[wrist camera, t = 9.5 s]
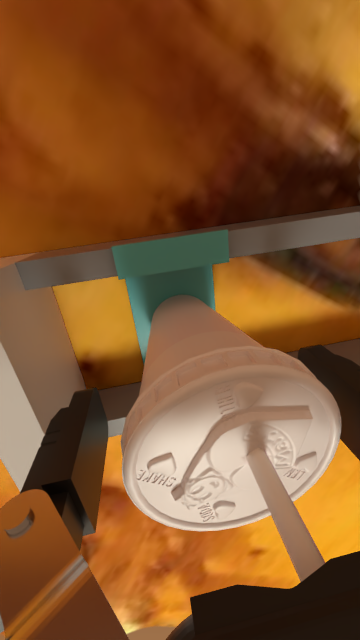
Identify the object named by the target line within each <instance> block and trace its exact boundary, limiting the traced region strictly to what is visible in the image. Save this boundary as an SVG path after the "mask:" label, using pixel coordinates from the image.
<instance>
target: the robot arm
mask: <svg viewBox="0 0 360 640" xmlns="http://www.w3.org/2000/svg"><path fill="white" fill-rule="evenodd" d="M298 360H300V361H301V362H302V363H303V364H304V365H305V366H306V367H307V368H308V369H309V370H310V371H311V372H312V373H313V374H314V375H315V376H316V378H317V379H318V380H319V381H320V382H321V383H322V384H323V385H324V386H325V387H326V388H327V389H328V390H329V391H330V393H331V394H332V395H333V397H334V399H335V401H336V402H337V405H338V408H339V411H340V416H341V434H340V439H341V440H342V441H343V442H344V444H345V445H346V446H347V447H348V448H349V449H350V450H351V451H352V452H353V454H354V455H355V456H356V457H357V458H358V459H359V460H360V366H359V365H357V364H356V363H355V362H353V361H352V360H349V359H347V358H344V357H342V356H339V355H337V354H336V355H335V354H333V353H332V352H331V351H329V350H328V349H327V348H325V347H324V346H322V345H315V346H310V347H305V348H301V349H300V350H299V352H298ZM107 441H108V421H107V417H106V414H105V411H104V408H103V404H102V401H101V398H100V395H99V392H98V390H97V388H90V389H85V390H80V391H75V392H74V394H73V396H72V399H71V402H70V405H69V407H66V408H61V409H60V410H59V411H58V412H57V414H56V415H55V416H54V417H53V418H52V419H51V420H50V423H49V425H48V428H47V430H46V432H45V436H44V437H43V439H42V442H41V447H39V449H38V451H37V454H36V456H35V459H34V461H33V463H32V466H31V468H30V470H29V473H28V475H27V478H26V480H25V482H24V485H23V487H22V490H21V492H20V494H19V495H17V496H15V497H14V498H12V499H11V500H9V501H8V502H7V503H6V504H5V505H4V506H2V507H1V508H0V633H1V632H3V631H4V632H5V640H129V639H128V637H127V635H126V633H125V631H124V629H123V628H122V626H121V624H120V622H119V620H118V619H117V617H116V615H115V613H114V611H113V610H112V608H111V606H110V604H109V602H108V601H107V599H106V597H105V595H104V593H103V592H102V590H101V588H100V586H99V584H98V583H97V581H96V579H95V577H94V575H93V574H92V572H91V570H90V568H89V566H88V565H87V563H86V561H85V559H84V558H83V556H82V555H81V553H80V548H81V542H82V536H84V535H88V534H92V533H95V531H96V524H97V516H98V509H99V501H100V494H101V486H102V479H103V471H104V464H105V456H106V449H107ZM190 601H191V609H192V614H191V615H190V616H189V617H187V618H186V619H185V620H183V621H182V622H181V623H180V624H179V625H178V626H177V627H176V628H175V629H174V630H173V631H172V632H171V634H170V635H169V636H168V638H167V639H166V640H360V551H358V552H354V553H351V554H347V555H343V556H340V557H336V558H333V559H330V560H329V561H327V562H326V563H325V564H324V565H322V566H321V567H320V568H318V569H317V570H316V571H315V572H313V573H312V574H311V575H310V576H308V577H307V578H306V579H304V580H303V581H302V582H301V583H299V584H298V585H297V586H295V587H294V588H291V589H282V588H270V587H259V586H247V585H234V586H230V587H227V588H223V589H219V590H216V591H212V592H209V593H205V594H201V595H198V596H194V597H190Z"/></svg>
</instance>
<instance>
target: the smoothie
mask: <svg viewBox="0 0 360 640" xmlns="http://www.w3.org/2000/svg"><path fill="white" fill-rule="evenodd" d="M340 434H341V416H340V411H339V408H338V405H337V402H336V401H335V399H334V397H333V395H332V394H331V393H330V391H329V390H328V389H327V388H326V387H325V386H324V385H323V384H322V383H321V382H320V381H319V380H318V379H317V378H316V376H315V375H314V374H313V373H312V372H311V371H310V370H309V369H308V368H307V367H306V366H305V365H304V364H303V363H302V362H301V361H300V360H298V359H296V358H294V357H292V356H290V355H288V354H286V353H284V352H282V351H279V350H277V349H271V348H265V347H263V346H262V345H261V344H259V343H258V342H257V341H255V340H253V339H252V338H251V337H249V336H248V335H247V334H245V333H244V332H243V331H241V330H240V329H239V328H237V327H236V326H234V325H233V324H232V323H230V322H229V321H228V320H226V319H225V318H224V317H222V316H221V315H220V314H218V313H217V312H216V311H214V310H213V309H212V308H210V307H209V306H207V305H206V304H205V303H203V302H202V301H201V300H199V299H198V298H196V297H194V296H190V295H176V296H172V297H170V298H168V299H166V300H165V301H163V302H162V303H161V304H160V305H159V306H158V307H157V309H156V310H155V312H154V314H153V317H152V323H151V329H150V335H149V340H148V346H147V352H146V358H145V364H144V370H143V376H142V382H141V387H140V392H139V397H138V398H137V400H136V402H135V403H134V405H133V407H132V409H131V410H130V412H129V414H128V415H127V417H126V420H125V424H124V429H123V433H122V438H121V448H122V455H123V460H122V476H123V482H124V486H125V489H126V491H127V493H128V495H129V497H130V499H131V500H132V502H133V503H134V504H135V505H136V506H137V507H138V508H139V509H140V510H141V511H142V512H143V513H144V514H146V515H147V516H149V517H150V518H152V519H153V520H155V521H158V522H160V523H162V524H164V525H167V526H170V527H174V528H178V529H182V530H192V531H216V530H224V529H230V528H235V527H239V526H243V525H246V524H249V523H253V522H256V521H258V520H260V519H263V518H265V517H268V516H270V515H271V516H272V518H273V520H274V522H275V525H276V527H277V529H278V531H279V534H280V536H281V538H282V540H283V543H284V545H285V547H286V549H287V552H288V554H289V556H290V558H291V561H292V563H293V565H294V567H295V570H296V572H297V574H298V576H299V579H300V581H301V582H302V581H303V580H304V579H306V578H307V577H308V576H310V575H311V574H312V573H313V572H315V571H316V570H317V569H318V568H320V567H321V566H322V565H324V564H325V561H324V559H323V558H322V556H321V554H320V552H319V550H318V548H317V546H316V545H315V543H314V541H313V539H312V537H311V535H310V533H309V532H308V530H307V528H306V526H305V524H304V522H303V520H302V518H301V517H300V515H299V513H298V511H297V509H296V507H295V505H294V504H293V502H294V501H295V500H296V499H298V498H299V497H301V496H302V495H303V494H304V493H305V492H306V491H307V490H308V489H310V488H311V487H312V486H313V485H314V484H315V483H316V482H317V480H318V479H319V478H320V477H321V476H322V474H323V473H324V472H325V471H326V469H327V467H328V466H329V464H330V462H331V461H332V459H333V457H334V455H335V452H336V449H337V446H338V444H339V440H340Z"/></svg>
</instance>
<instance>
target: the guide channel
mask: <svg viewBox="0 0 360 640" xmlns="http://www.w3.org/2000/svg"><path fill="white" fill-rule="evenodd" d="M354 238H360V205H359V206H353V207H346V208H339V209H332V210H325V211H318V212H311V213H305V214H298V215H291V216H284V217H277V218H270V219H263V220H257V221H250V222H243V223H236V224H229V225H222V226H215V227H209V228H202V229H195V230H188V231H181V232H174V233H168V234H161V235H154V236H147V237H140V238H133V239H126V240H120V241H113V242H106V243H99V244H92V245H85V246H78V247H72V248H65V249H58V250H51V251H44V252H37V253H30V254H24V255H17V256H10V257H3V258H0V458H1V460H2V462H3V463H4V465H5V467H6V469H7V470H8V472H9V474H10V475H11V477H12V479H13V480H14V482H15V484H16V485H17V487H18V489H19V490H20V492H21V490H22V487H23V485H24V482H25V480H26V478H27V475H28V473H29V470H30V468H31V466H32V463H33V461H34V459H35V456H36V454H37V451H38V449H39V447H41V442H42V439H43V437H44V436H45V432H46V430H47V428H48V425H49V423H50V420H51V419H52V418H53V417H54V416H55V415H56V414H57V412H58V411H59V410H60V409H61V408H66V407H69V405H70V402H71V399H72V396H73V394H74V392H75V391H80V390H85V389H86V386H85V383H84V380H83V377H82V374H81V371H80V368H79V365H78V362H77V360H76V357H75V354H74V351H73V348H72V345H71V342H70V339H69V336H68V333H67V330H66V327H65V324H64V321H63V319H62V316H61V313H60V310H59V307H58V304H57V301H56V298H55V295H54V292H53V289H52V286H57V285H64V284H70V283H76V282H83V281H89V280H95V279H101V278H108V277H114V276H118V278H119V279H125V280H126V285H127V290H128V294H129V299H130V303H131V308H132V313H133V317H134V322H135V326H136V331H137V336H138V340H139V345H140V350H141V354H142V359H143V363H144V364H145V358H146V352H147V346H148V340H149V335H150V329H151V323H152V317H153V314H154V312H155V310H156V309H157V307H158V306H159V305H160V304H161V303H162V302H163V301H165V300H166V299H168V298H170V297H172V296H176V295H190V296H194V297H196V298H198V299H199V300H201V301H202V302H203V303H205V304H206V305H207V306H209V307H210V308H212V309H213V310H214V311H215V299H214V285H213V272H212V265H213V264H219V263H226V262H229V258H234V257H240V256H246V255H253V254H259V253H265V252H272V251H278V250H284V249H291V248H297V247H303V246H310V245H316V244H322V243H328V242H335V241H341V240H347V239H354ZM324 347H325V348H327V349H328V350H329V351H331V352H332V353H333V354H335V355H336V354H337V355H339V356H342V357H344V358H347V359H349V360H352V361H353V362H355V363H356V364H357V365H359V366H360V338H359V339H354V340H349V341H344V342H339V343H334V344H329V345H324ZM298 352H299V351H294V352H289V353H286V354H288V355H290V356H292V357H294V358H296V359H298ZM140 387H141V382H138V383H133V384H128V385H123V386H118V387H113V388H108V389H103V390H98V392H99V395H100V398H101V401H102V404H103V408H104V411H105V414H106V417H107V421H108V437H112V436H117V435H121V434H122V433H123V429H124V424H125V420H126V417H127V415H128V414H129V412H130V410H131V409H132V407H133V405H134V403H135V402H136V400H137V398H138V397H139V392H140Z"/></svg>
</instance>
